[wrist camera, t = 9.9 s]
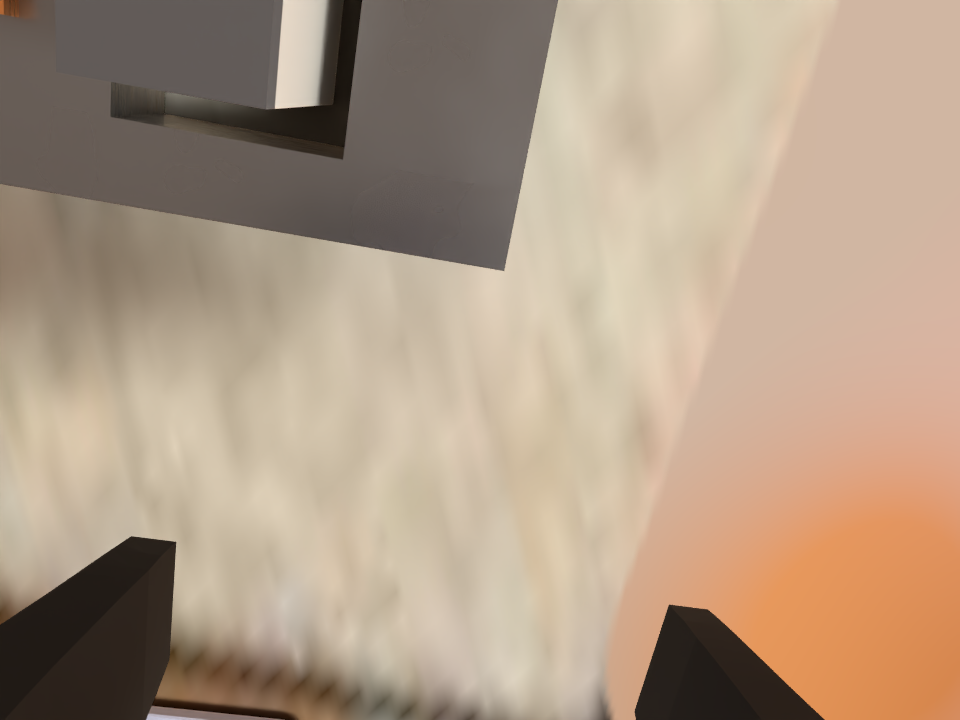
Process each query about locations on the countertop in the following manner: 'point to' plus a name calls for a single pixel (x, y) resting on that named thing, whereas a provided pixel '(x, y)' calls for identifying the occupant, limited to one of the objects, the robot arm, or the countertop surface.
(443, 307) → the countertop surface
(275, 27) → the grey plug
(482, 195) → the graphite socket block
